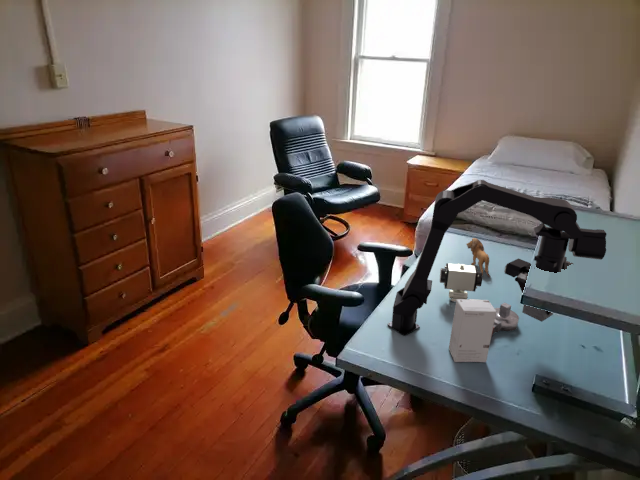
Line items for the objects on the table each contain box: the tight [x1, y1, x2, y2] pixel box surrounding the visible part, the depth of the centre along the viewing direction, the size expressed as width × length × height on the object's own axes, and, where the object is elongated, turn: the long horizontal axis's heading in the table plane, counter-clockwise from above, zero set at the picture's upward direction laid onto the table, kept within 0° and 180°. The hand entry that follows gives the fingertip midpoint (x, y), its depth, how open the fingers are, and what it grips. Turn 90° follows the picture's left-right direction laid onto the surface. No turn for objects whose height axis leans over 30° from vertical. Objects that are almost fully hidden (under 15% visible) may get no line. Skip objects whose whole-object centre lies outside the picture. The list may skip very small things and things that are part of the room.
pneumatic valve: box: [439, 263, 483, 303], centre depth 140 cm, size 6×12×12 cm, turn 78°
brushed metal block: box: [521, 304, 554, 323], centre depth 116 cm, size 5×5×6 cm
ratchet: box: [491, 302, 520, 338], centre depth 126 cm, size 19×8×6 cm, turn 128°
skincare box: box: [448, 298, 496, 363], centre depth 115 cm, size 8×6×15 cm
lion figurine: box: [465, 237, 491, 278], centre depth 160 cm, size 15×5×9 cm, turn 11°
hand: (538, 309), depth 117 cm, fingers closed on brushed metal block, 5 cm apart
